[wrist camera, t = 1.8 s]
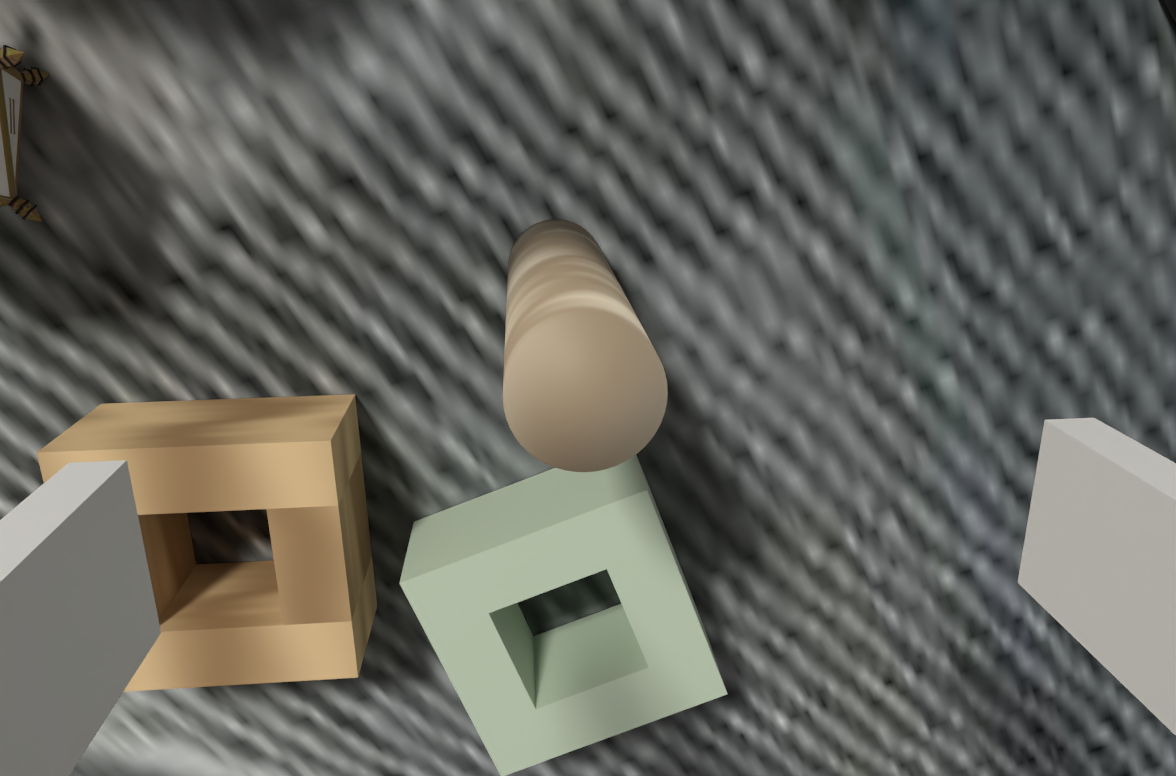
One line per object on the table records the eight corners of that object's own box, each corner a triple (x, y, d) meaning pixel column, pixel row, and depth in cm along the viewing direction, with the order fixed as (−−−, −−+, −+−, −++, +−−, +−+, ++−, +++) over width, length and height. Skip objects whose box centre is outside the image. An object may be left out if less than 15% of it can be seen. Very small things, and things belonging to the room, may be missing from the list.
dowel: (603, 217, 31) (669, 313, 18) (603, 312, 32) (666, 468, 19) (506, 220, 31) (499, 318, 17) (510, 315, 32) (506, 475, 18)
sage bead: (630, 439, 34) (647, 489, 29) (702, 623, 36) (727, 694, 32) (414, 521, 34) (399, 583, 30) (502, 697, 37) (501, 776, 33)
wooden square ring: (355, 394, 32) (330, 440, 28) (377, 606, 35) (357, 677, 31) (101, 403, 31) (36, 452, 27) (145, 618, 34) (93, 693, 30)
